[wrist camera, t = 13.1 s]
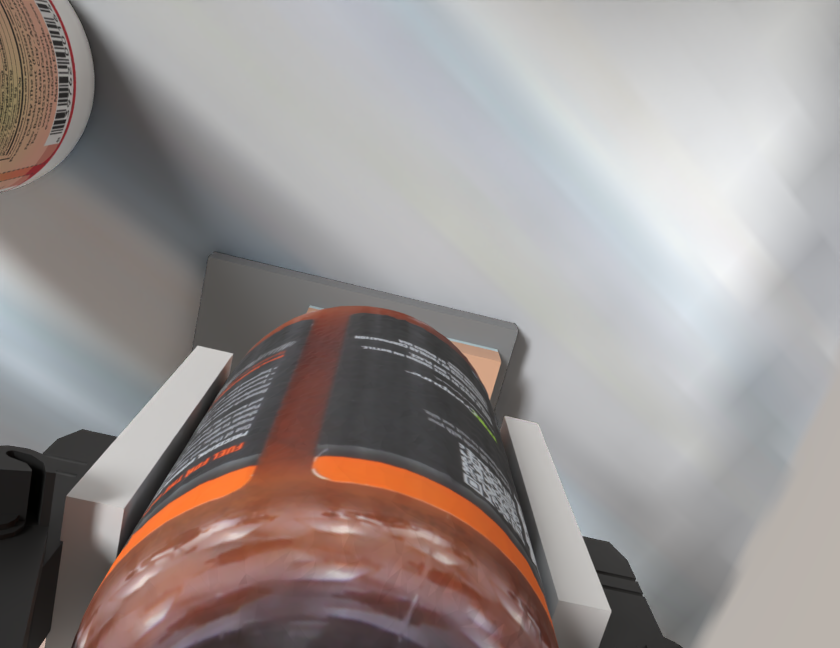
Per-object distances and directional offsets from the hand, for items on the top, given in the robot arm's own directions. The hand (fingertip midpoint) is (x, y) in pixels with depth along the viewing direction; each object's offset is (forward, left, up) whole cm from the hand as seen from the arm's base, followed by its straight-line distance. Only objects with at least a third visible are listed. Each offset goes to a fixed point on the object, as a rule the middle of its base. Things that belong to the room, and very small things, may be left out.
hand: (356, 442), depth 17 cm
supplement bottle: (0, 0, 0) cm, 1 cm away
